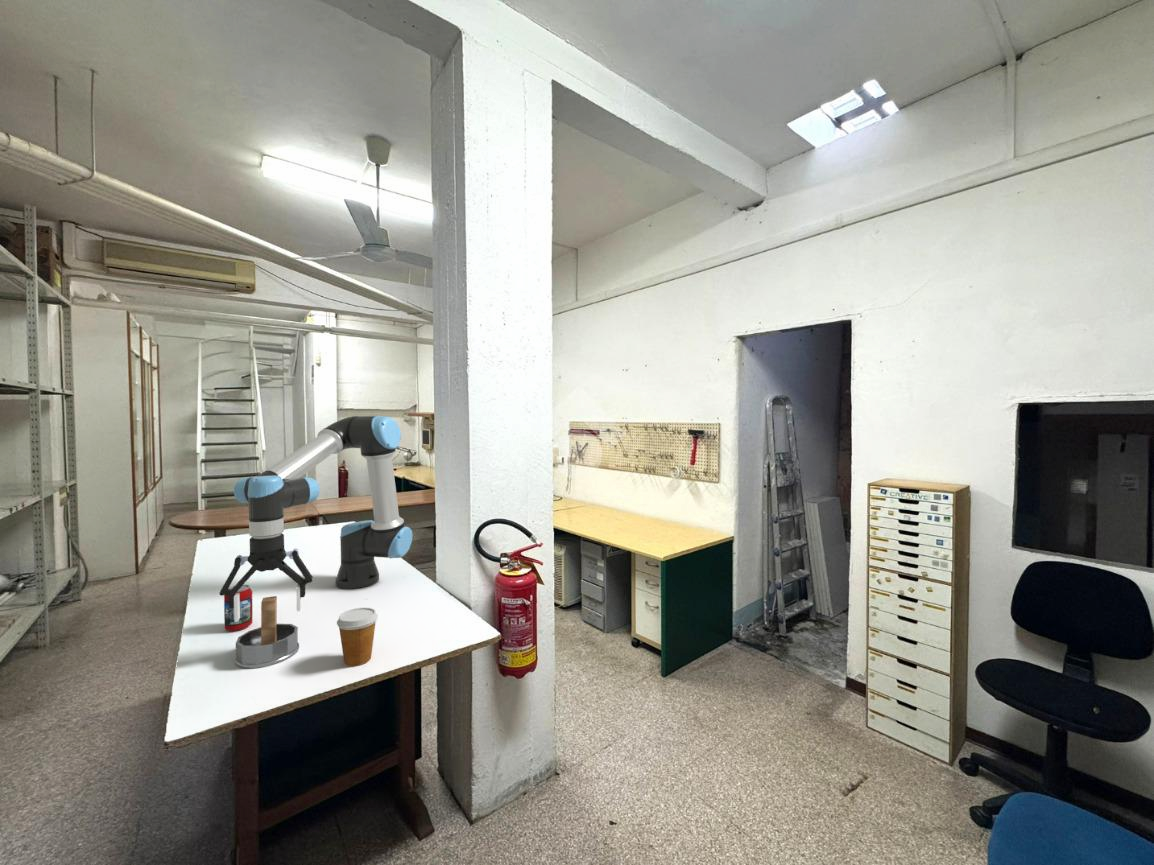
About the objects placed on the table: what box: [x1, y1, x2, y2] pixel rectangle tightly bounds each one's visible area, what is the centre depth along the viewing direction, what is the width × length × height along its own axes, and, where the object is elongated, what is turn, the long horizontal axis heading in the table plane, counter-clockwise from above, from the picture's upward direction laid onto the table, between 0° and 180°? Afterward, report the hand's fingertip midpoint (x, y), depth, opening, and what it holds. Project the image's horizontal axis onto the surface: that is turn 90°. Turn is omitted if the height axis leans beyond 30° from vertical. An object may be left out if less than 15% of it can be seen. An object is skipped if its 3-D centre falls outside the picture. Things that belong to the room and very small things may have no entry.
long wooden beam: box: [260, 595, 278, 645], centre depth 120 cm, size 3×3×14 cm
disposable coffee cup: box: [336, 607, 379, 667], centre depth 117 cm, size 10×10×12 cm
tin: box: [234, 623, 300, 670], centre depth 120 cm, size 14×14×5 cm
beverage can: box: [223, 584, 253, 632], centre depth 136 cm, size 7×7×12 cm
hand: (268, 614), depth 120 cm, fingers open, 13 cm apart
